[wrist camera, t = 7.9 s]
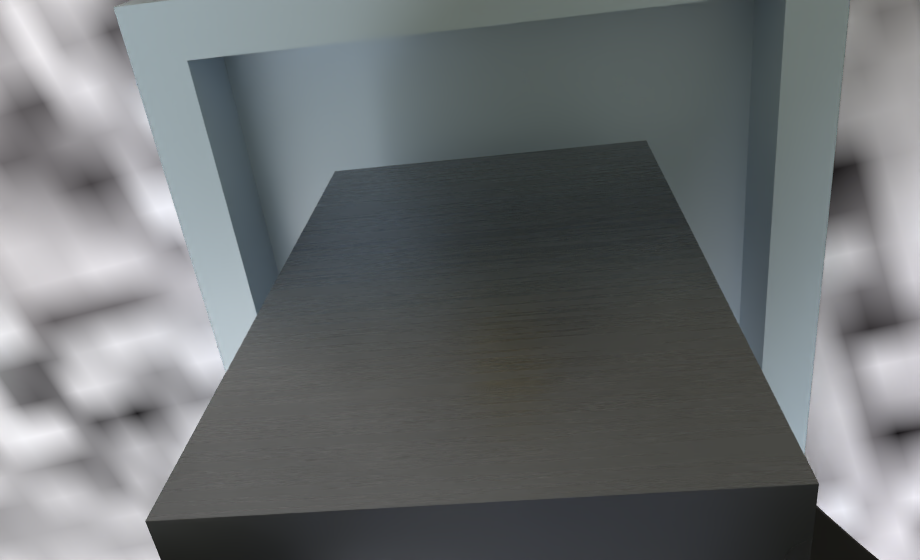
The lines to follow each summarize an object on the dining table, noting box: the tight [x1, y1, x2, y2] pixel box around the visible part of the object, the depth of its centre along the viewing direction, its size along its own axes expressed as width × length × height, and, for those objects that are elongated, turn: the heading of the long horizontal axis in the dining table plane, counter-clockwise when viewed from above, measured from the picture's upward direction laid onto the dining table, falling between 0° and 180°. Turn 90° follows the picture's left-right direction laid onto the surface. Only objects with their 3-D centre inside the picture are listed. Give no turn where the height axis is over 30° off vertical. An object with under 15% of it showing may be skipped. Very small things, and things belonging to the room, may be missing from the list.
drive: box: [145, 140, 819, 560], centre depth 10 cm, size 4×8×7 cm, turn 7°
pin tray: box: [114, 0, 850, 455], centre depth 13 cm, size 10×15×4 cm, turn 7°
